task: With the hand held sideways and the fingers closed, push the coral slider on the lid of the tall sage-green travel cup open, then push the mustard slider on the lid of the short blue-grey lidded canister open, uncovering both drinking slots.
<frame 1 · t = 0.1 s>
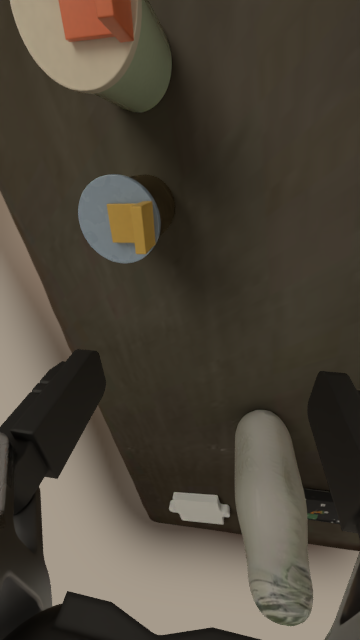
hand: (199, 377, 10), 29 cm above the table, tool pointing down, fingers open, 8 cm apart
sage cup: (135, 64, 27), on the table
blue-grey lidded canister: (147, 206, 35), on the table
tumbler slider: (126, 227, 24), point 13 cm above the table, slide at 0.0 cm
mounting plate: (199, 504, 77), on the table
disk drive: (313, 498, 65), on the table
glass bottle: (259, 416, 53), on the table
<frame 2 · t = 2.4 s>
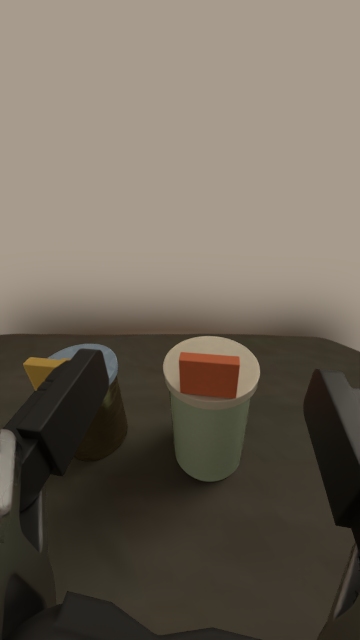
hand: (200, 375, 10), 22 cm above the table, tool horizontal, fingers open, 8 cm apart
sage cup: (207, 446, 30), on the table
blue-grey lidded canister: (97, 431, 33), on the table
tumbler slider: (62, 364, 24), point 13 cm above the table, slide at 0.0 cm
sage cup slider: (210, 360, 21), point 15 cm above the table, slide at 0.0 cm
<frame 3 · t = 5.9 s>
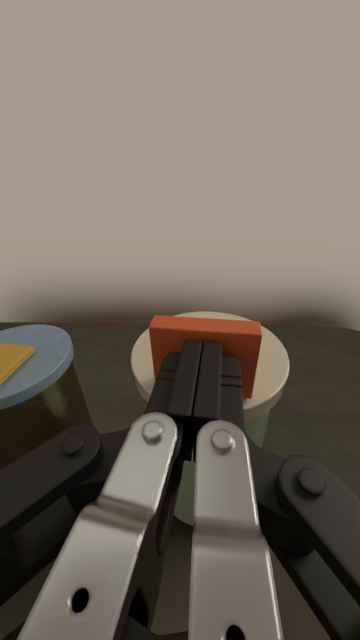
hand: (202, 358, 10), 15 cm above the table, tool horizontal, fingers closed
sage cup: (203, 470, 21), on the table
blue-grey lidded canister: (53, 447, 24), on the table
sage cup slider: (207, 334, 13), point 15 cm above the table, slide at 0.5 cm, touching gripper
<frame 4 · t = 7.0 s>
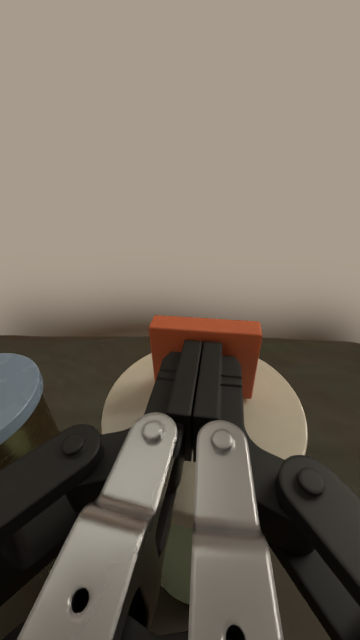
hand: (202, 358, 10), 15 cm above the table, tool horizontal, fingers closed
sage cup: (198, 524, 18), on the table
blue-grey lidded canister: (25, 491, 21), on the table
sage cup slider: (206, 334, 13), point 15 cm above the table, slide at 4.3 cm, touching gripper
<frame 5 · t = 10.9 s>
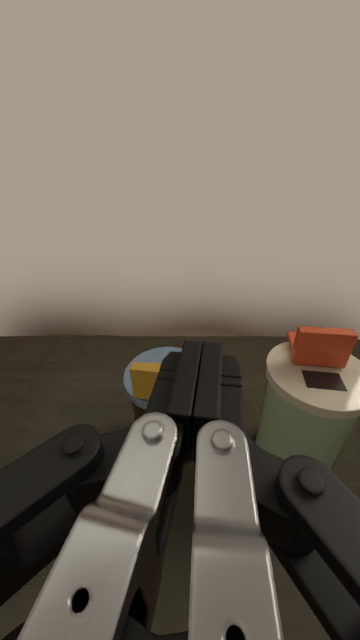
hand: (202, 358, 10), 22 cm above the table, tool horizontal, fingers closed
sage cup: (289, 453, 29), on the table
blue-grey lidded canister: (170, 437, 32), on the table
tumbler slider: (160, 369, 23), point 13 cm above the table, slide at 0.0 cm
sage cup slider: (316, 335, 24), point 15 cm above the table, slide at 4.3 cm
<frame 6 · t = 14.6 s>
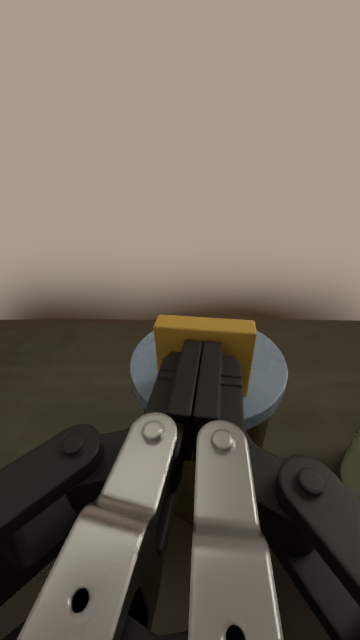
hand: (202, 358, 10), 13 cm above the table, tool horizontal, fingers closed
blue-grey lidded canister: (203, 465, 20), on the table
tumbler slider: (206, 334, 12), point 13 cm above the table, slide at 1.0 cm, touching gripper
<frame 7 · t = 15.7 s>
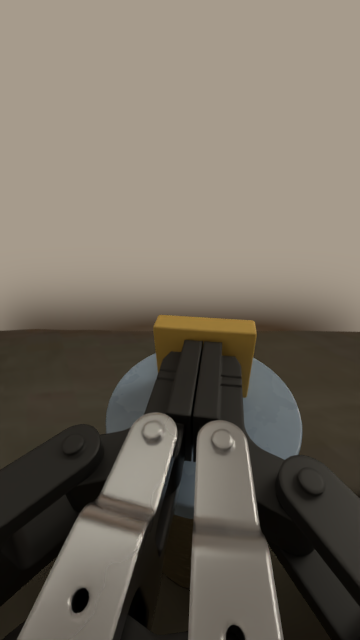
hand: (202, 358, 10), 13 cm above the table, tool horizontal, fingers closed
blue-grey lidded canister: (199, 510, 17), on the table
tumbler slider: (206, 334, 12), point 13 cm above the table, slide at 4.1 cm, touching gripper
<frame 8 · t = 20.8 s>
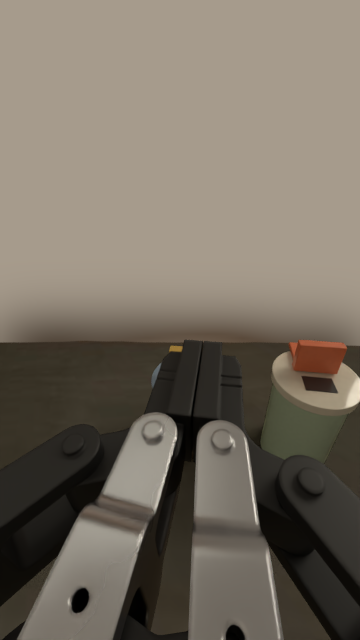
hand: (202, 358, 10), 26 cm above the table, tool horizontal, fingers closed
sage cup: (291, 446, 34), on the table
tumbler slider: (189, 351, 32), point 13 cm above the table, slide at 4.1 cm
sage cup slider: (313, 346, 28), point 15 cm above the table, slide at 4.3 cm
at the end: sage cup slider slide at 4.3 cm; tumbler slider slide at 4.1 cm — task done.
